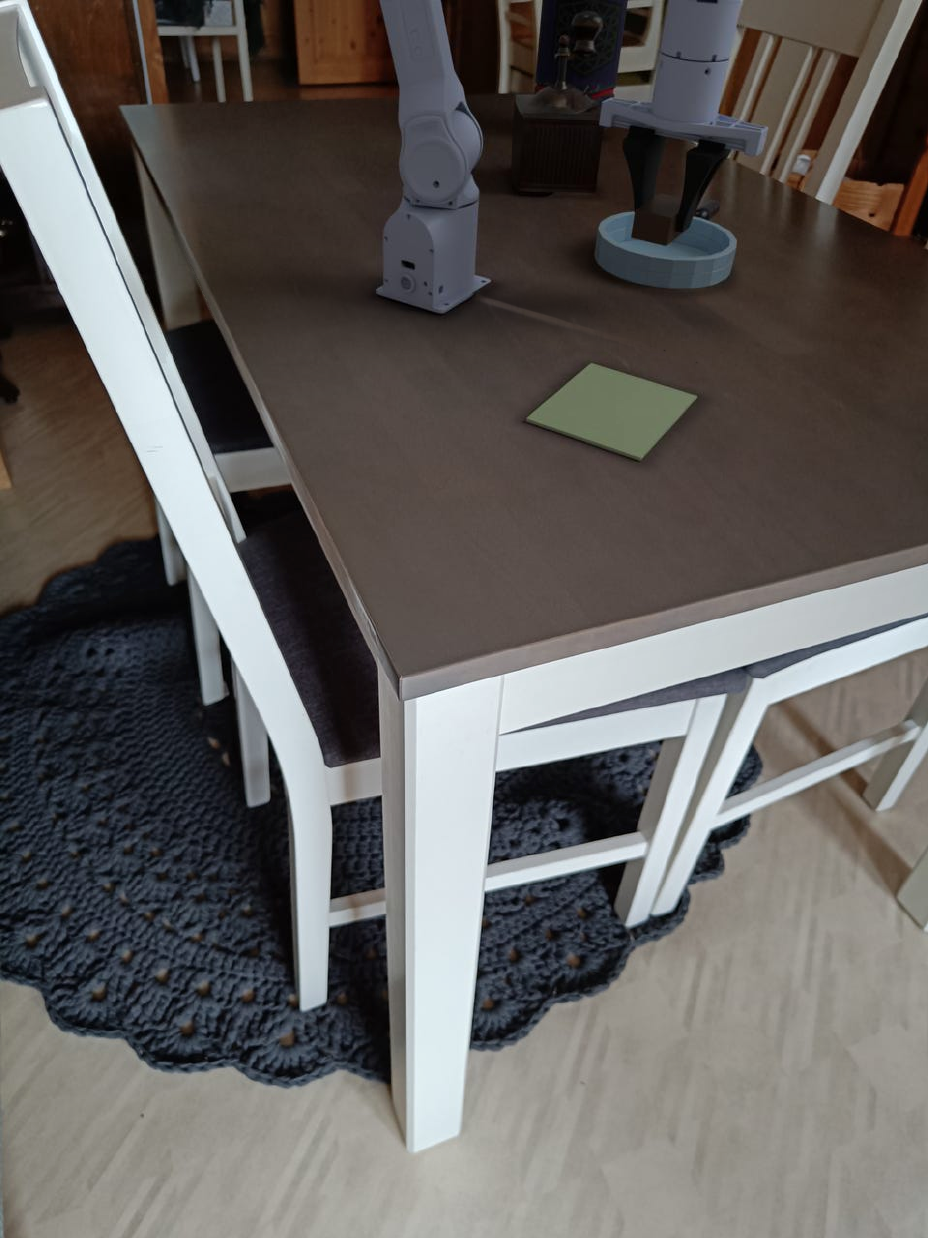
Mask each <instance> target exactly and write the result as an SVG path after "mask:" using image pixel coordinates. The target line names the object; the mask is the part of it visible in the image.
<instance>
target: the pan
mask: <svg viewBox="0 0 928 1238" xmlns="http://www.w3.org/2000/svg"><path fill="white" fill-rule="evenodd" d="M634 216H635V210H633V211H624V212H620V213H617V214H613V215H610V216H608V217H606V218H604V219H603V220H601V221H600V223H599V226H598V228H597V232H596V233H597V234H596V240H595V248H594V253H593V254H594V255H593V256H594V259H595V262H596V263H597V264H598V266H599V267H601V268H602V269H603V270H604V271H606V272H607V273H609V274H611V275H613V276H614V277H617V278H619V279H622V280H624V281H627V282H630V283H634V284H638V285H643V286H647V287H653V288H660V289H670V290H671V289H672V290H692V289H701V288H707V287H711V286H714V285H717V284H719V283H722V282H723V281H725V280H726V279H727V278H728V277H729V276H730V275H731V271H732V268H733V264H734V260H735V255H736V251H737V248H738V247H737V246H738V245H737V244H738V240H737V237H735V236H734V234H733V233H732V232H731V231H730V230H728V229H726V228H725V227H723V226H722V225H720V224H719V223H716V222H712V221H711V220H709V221H708V220H705V219H701V218H698V217H693V219H692V222H691V225H690V227H689V229H687V230H686V231H685V232H683V233H682V234H681V235H680V236H678V237H677V238H676V239H674V240H673V241H672V242H671V243H669V244H668V245H667V246H663V245H659V244H655V243H651V242H647V241H643V240H639V239H635V238H631V234H632V228H633V222H634Z"/></svg>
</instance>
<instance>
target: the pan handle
mask: <svg viewBox="0 0 928 1238" xmlns="http://www.w3.org/2000/svg"><path fill="white" fill-rule="evenodd" d="M720 208H721V206H720V203H719V202H718V201H717V200H716V199H710V200H708V201H706V202H705V203H703V204H702V205H701V206H698V207H697V209H696V212H695V214H694V217H698V218H701V219H705V220H708V221H711V219H713V218H714V217H716V215H718V214H719V212H720Z"/></svg>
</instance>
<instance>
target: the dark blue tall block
mask: <svg viewBox="0 0 928 1238" xmlns="http://www.w3.org/2000/svg"><path fill="white" fill-rule="evenodd" d="M628 2H629V0H542V1H541V9H540V10H541V12H540V22H539V33H538V34H539V35H538V45H537V55H536V56H537V57H536V65H535V66H536V67H535V79H534V83H535V84H536V85H534V89H533V91H534V92H533V94H536V93H537V92H539V91H540V90H542V89H544V88H546V87H548V86H553V85H555V84H556V82H557V80H558V70H559V61H557V60H556V59H555V54H558V53H559V51H558V49H559V48H560V45H559V39H560V37H561V36H563V35H567V36H568V37H569V40H570V42H569V45H568V49H569V51H570V53H574V51H573V50H574V48H575V46H576V43H577V38H576V35H575V33H574V31H573V29H572V21H573V19H574V17H575V15H577V14H578V13H580V12H581V11H592V12H596V13H597V14H598V15H599V16H600V17H601V18H602V22H603V27H602V31H601V32H600V33H599V34H598V36H597V37H596V39H595V41H594V47H595V50H596V53H595V54H589V55H588V56H587V57H585V59H584V60H583V59H582V58H581V57H579V58H576V59H573V60H570V61H567V63H566V75H565V82H566V85H568V84H571V85H572V86H574V87H576V88H577V89H579V90H581V91H583V92H584V90H585V89H586V87H587V86H588V85H589V89H588V91H587V93H586V95H587V96H593V97H594V98H595V99H596V100H597V101H598V105H599V107H600V108H602V102H603V101H605V100H607V99H609V98H615V93H614V89H616V87H617V81H618V80H617V79H618V73H619V66H620V59H621V52H622V46H623V38H624V32H625V31H624V30H625V26H626V25H625V24H626V16H627V11H628V4H629V3H628ZM609 128H610V127H606V126H604V132H606V131H607V130H609Z"/></svg>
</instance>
